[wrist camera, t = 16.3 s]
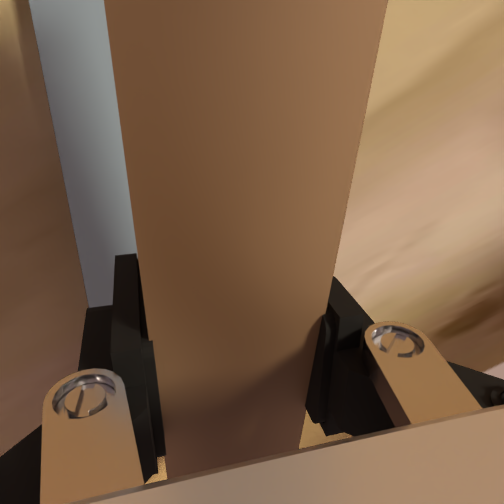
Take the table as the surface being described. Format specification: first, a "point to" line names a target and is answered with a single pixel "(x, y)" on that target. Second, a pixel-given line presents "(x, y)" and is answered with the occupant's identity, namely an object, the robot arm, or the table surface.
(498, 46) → the table surface
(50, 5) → the rubber mat
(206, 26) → the wooden beam
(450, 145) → the table surface
